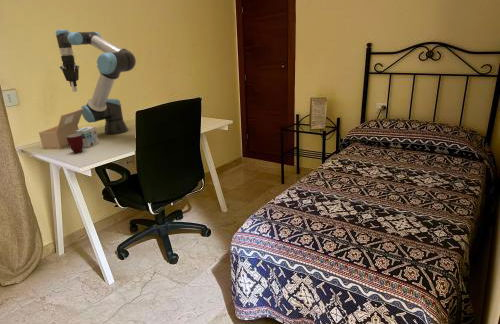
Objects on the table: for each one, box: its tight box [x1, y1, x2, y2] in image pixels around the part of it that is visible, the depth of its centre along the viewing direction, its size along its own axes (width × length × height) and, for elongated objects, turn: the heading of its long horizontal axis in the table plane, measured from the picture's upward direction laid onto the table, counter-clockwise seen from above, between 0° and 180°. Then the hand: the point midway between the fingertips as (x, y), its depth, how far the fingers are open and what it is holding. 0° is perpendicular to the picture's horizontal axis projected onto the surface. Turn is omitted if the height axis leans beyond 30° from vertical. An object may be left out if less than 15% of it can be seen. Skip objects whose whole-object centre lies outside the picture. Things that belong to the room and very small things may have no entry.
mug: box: [67, 134, 83, 154], centre depth 201 cm, size 10×8×10 cm
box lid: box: [56, 108, 83, 132], centre depth 213 cm, size 12×20×1 cm
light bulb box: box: [76, 126, 99, 149], centre depth 212 cm, size 11×7×11 cm, turn 168°
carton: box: [38, 124, 79, 149], centre depth 219 cm, size 12×20×10 cm, turn 170°
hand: (74, 91), depth 232 cm, fingers closed
